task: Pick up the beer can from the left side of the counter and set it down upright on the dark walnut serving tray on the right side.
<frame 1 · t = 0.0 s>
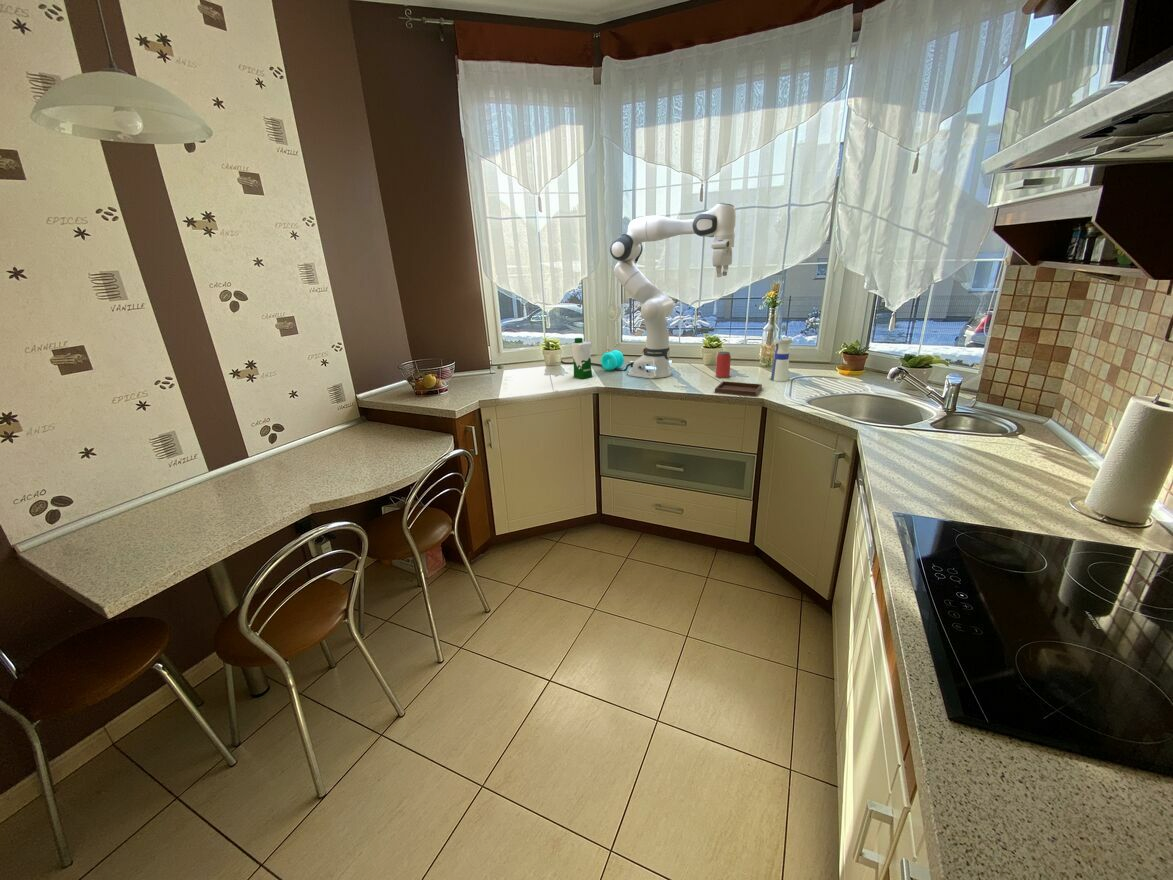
hand: (721, 276, 216), 48 cm above the worktop, tool pointing down, fingers open, 8 cm apart
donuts: (612, 369, 264), on the worktop
beer can: (722, 376, 238), on the worktop
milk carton: (583, 377, 251), on the worktop
water bottle: (778, 379, 229), on the worktop
tray: (738, 390, 214), on the worktop
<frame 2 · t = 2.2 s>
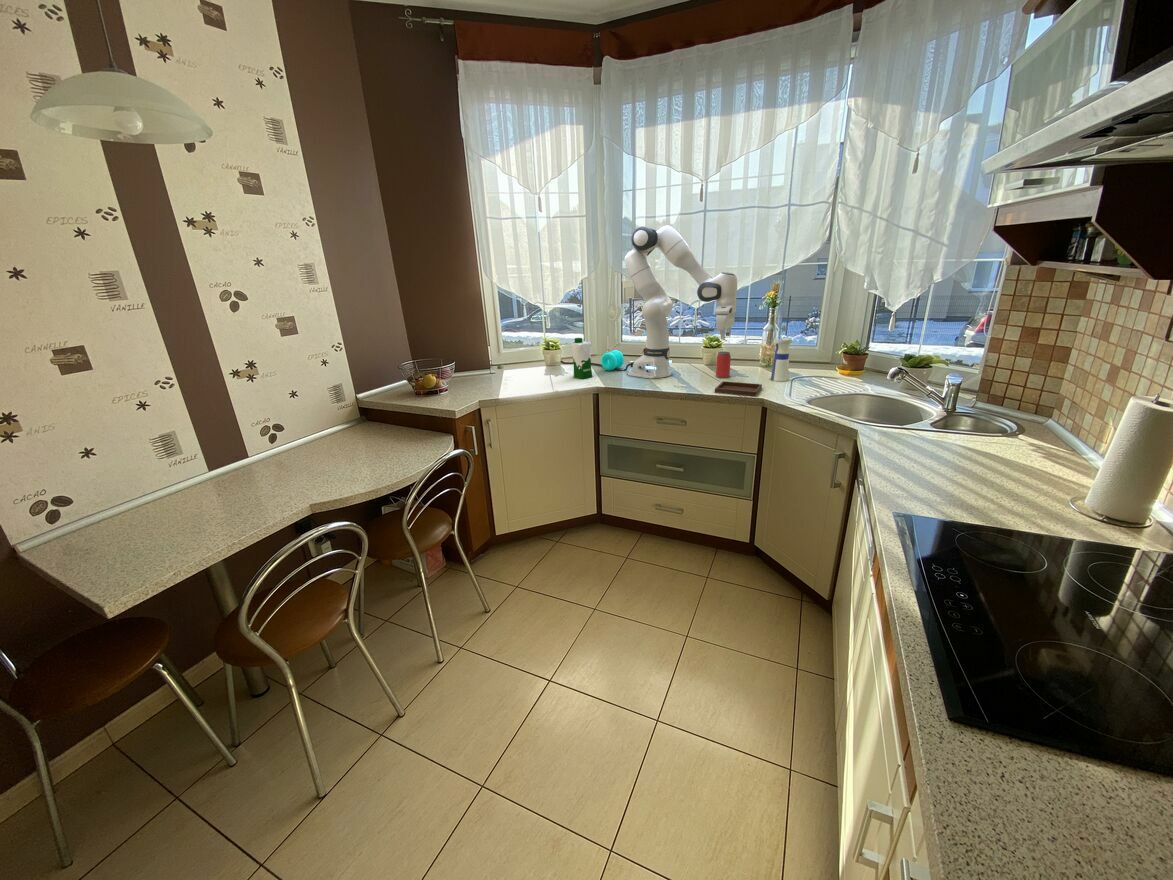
hand: (725, 337, 231), 19 cm above the worktop, tool pointing down, fingers open, 8 cm apart
nothing on the worktop moved.
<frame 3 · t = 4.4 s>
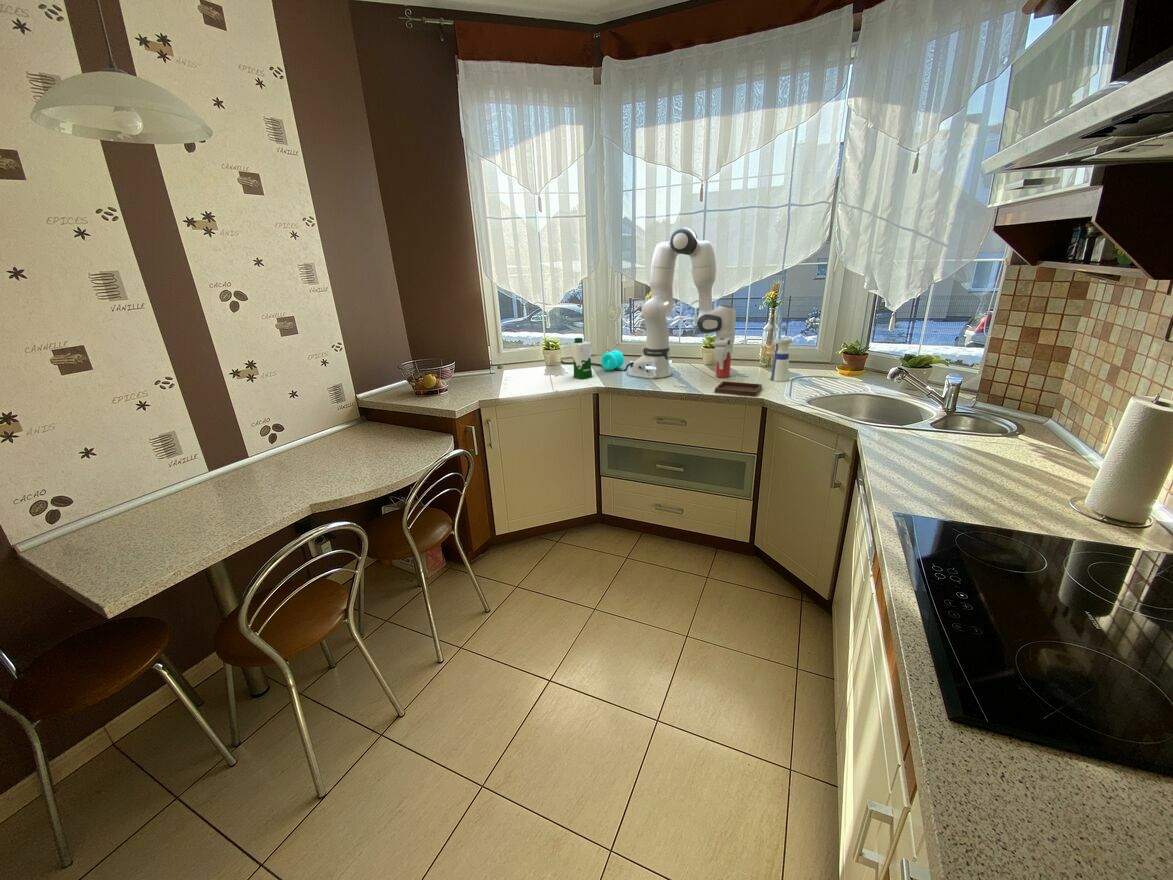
hand: (723, 367, 237), 5 cm above the worktop, tool pointing down, fingers closed on beer can, 6 cm apart
beer can: (722, 376, 238), on the worktop, touching gripper
everything else where it was.
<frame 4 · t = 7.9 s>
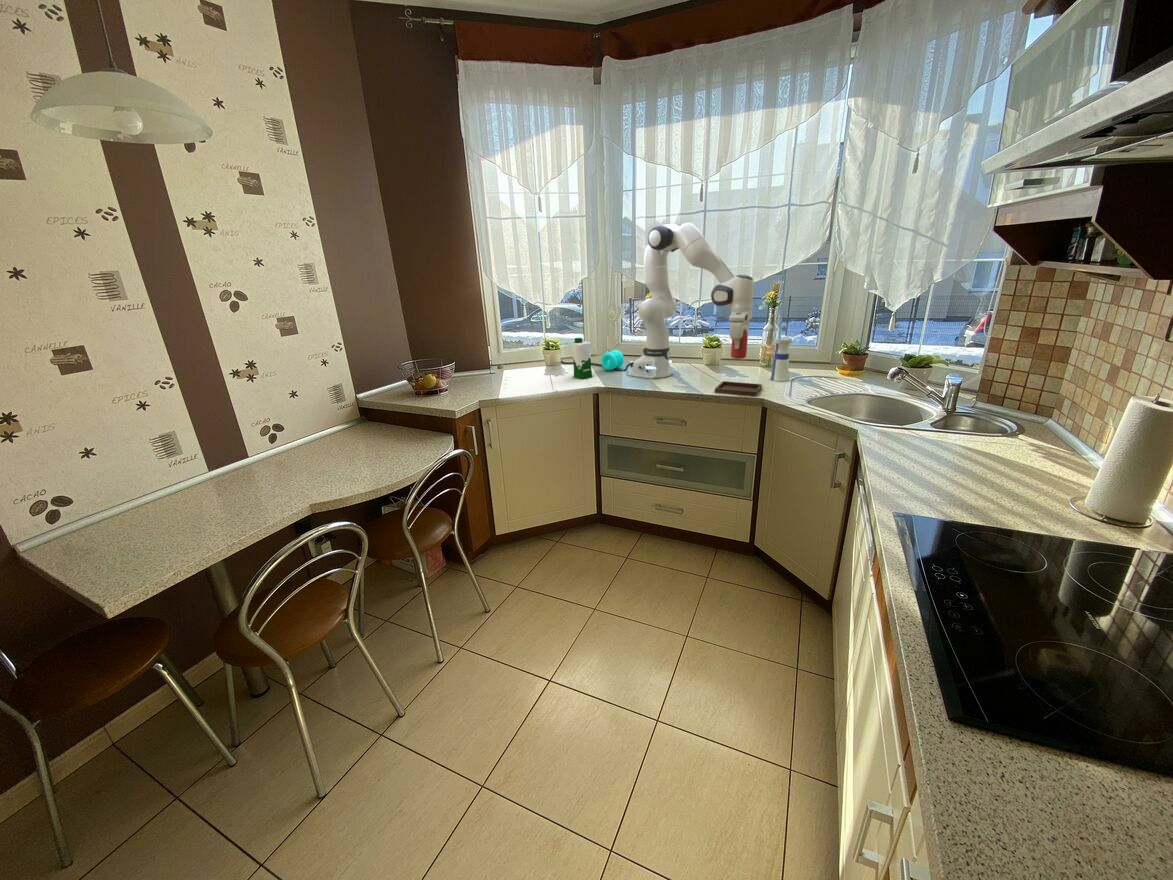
hand: (739, 346, 210), 19 cm above the worktop, tool pointing down, fingers closed on beer can, 6 cm apart
beer can: (738, 357, 212), point 14 cm above the worktop, touching gripper
everything else where it was.
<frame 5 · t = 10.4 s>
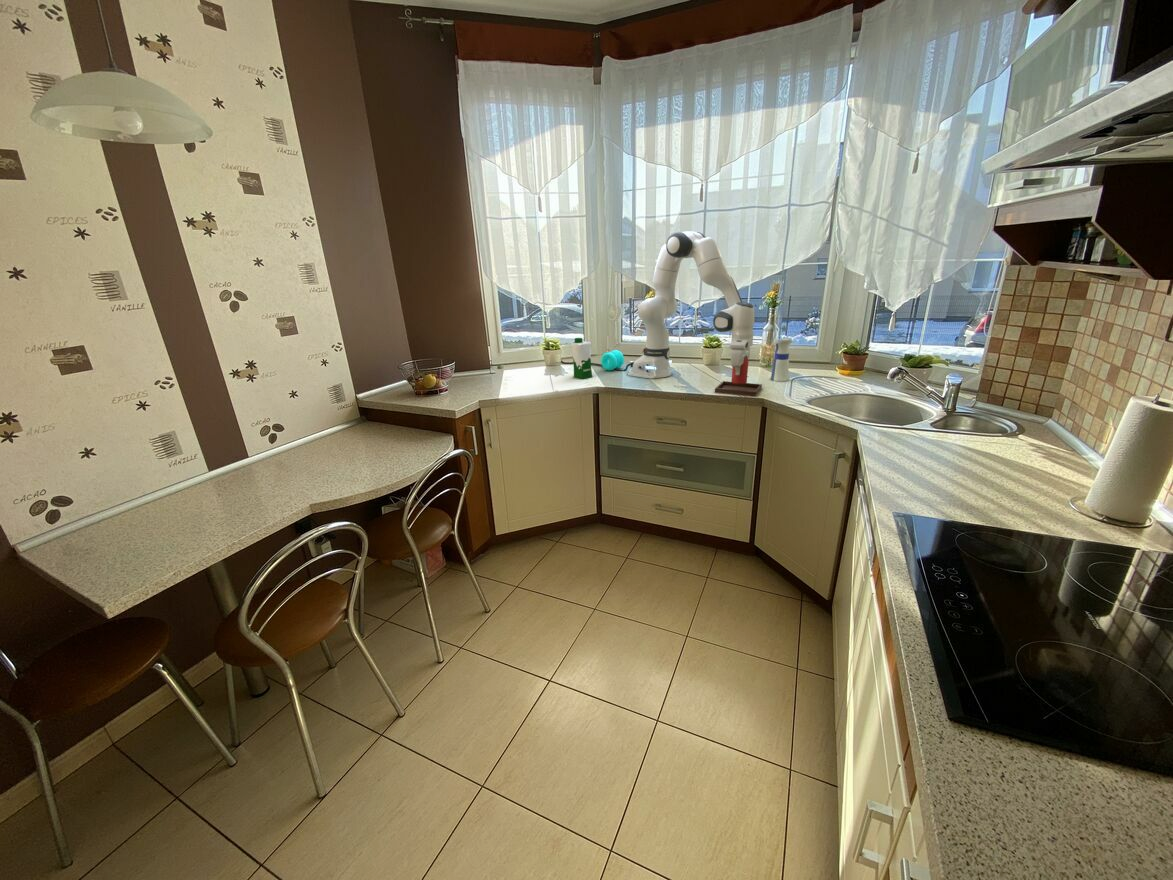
hand: (739, 372, 211), 8 cm above the worktop, tool pointing down, fingers closed on beer can, 6 cm apart
beer can: (739, 383, 213), point 3 cm above the worktop, touching gripper
everything else where it was.
when the fingers open (5 cm above the worktop, at t = 11.9 s): beer can stays where it is, resting on tray.
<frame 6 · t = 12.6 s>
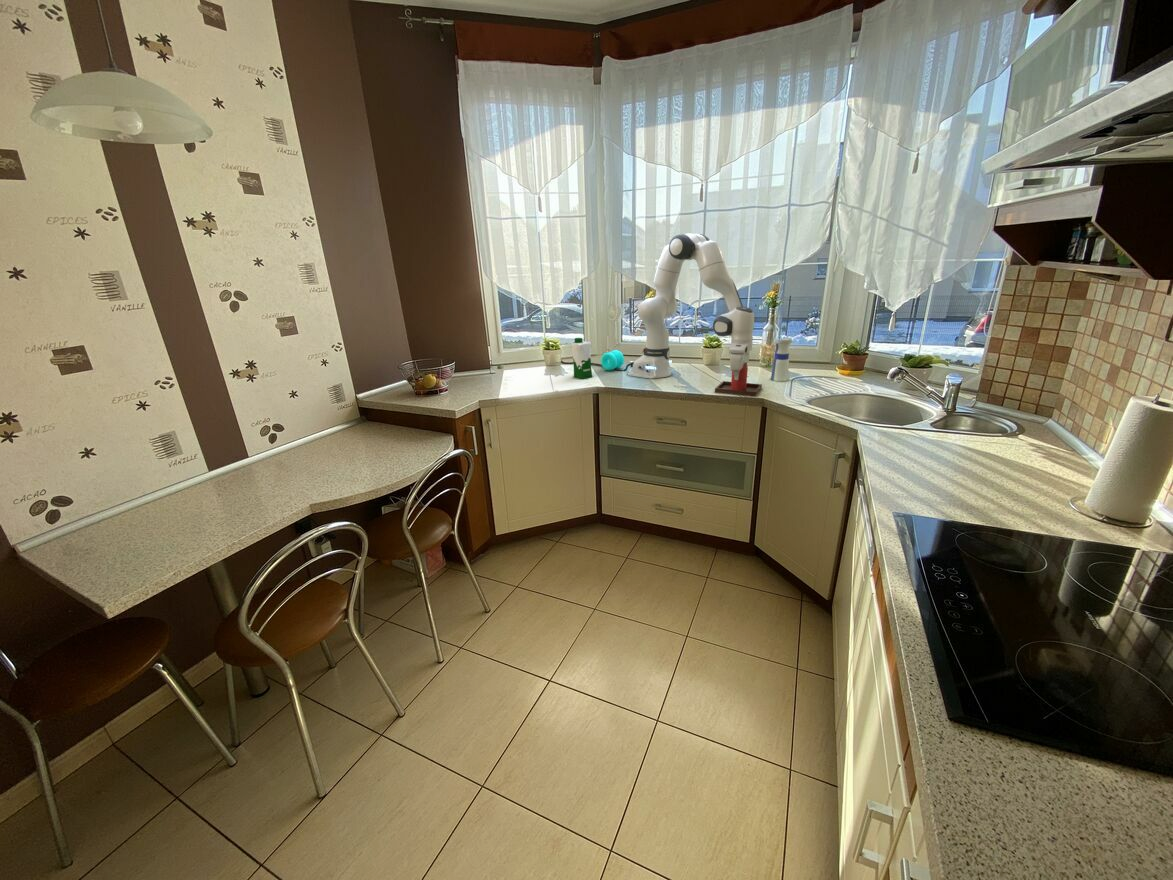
hand: (739, 377, 212), 6 cm above the worktop, tool pointing down, fingers open, 8 cm apart
beer can: (738, 389, 214), resting on tray
everything else where it was.
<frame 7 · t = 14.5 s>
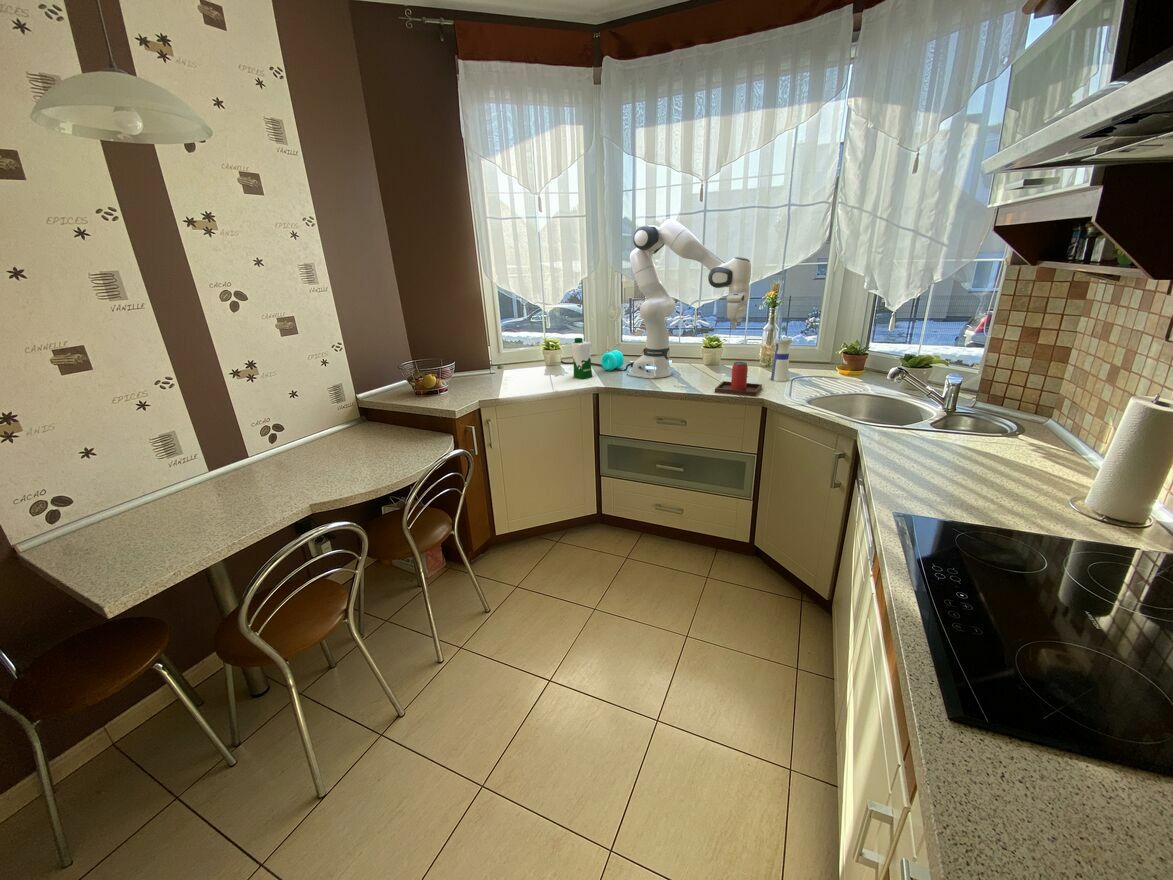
hand: (736, 327, 219), 26 cm above the worktop, tool pointing down, fingers open, 8 cm apart
nothing on the worktop moved.
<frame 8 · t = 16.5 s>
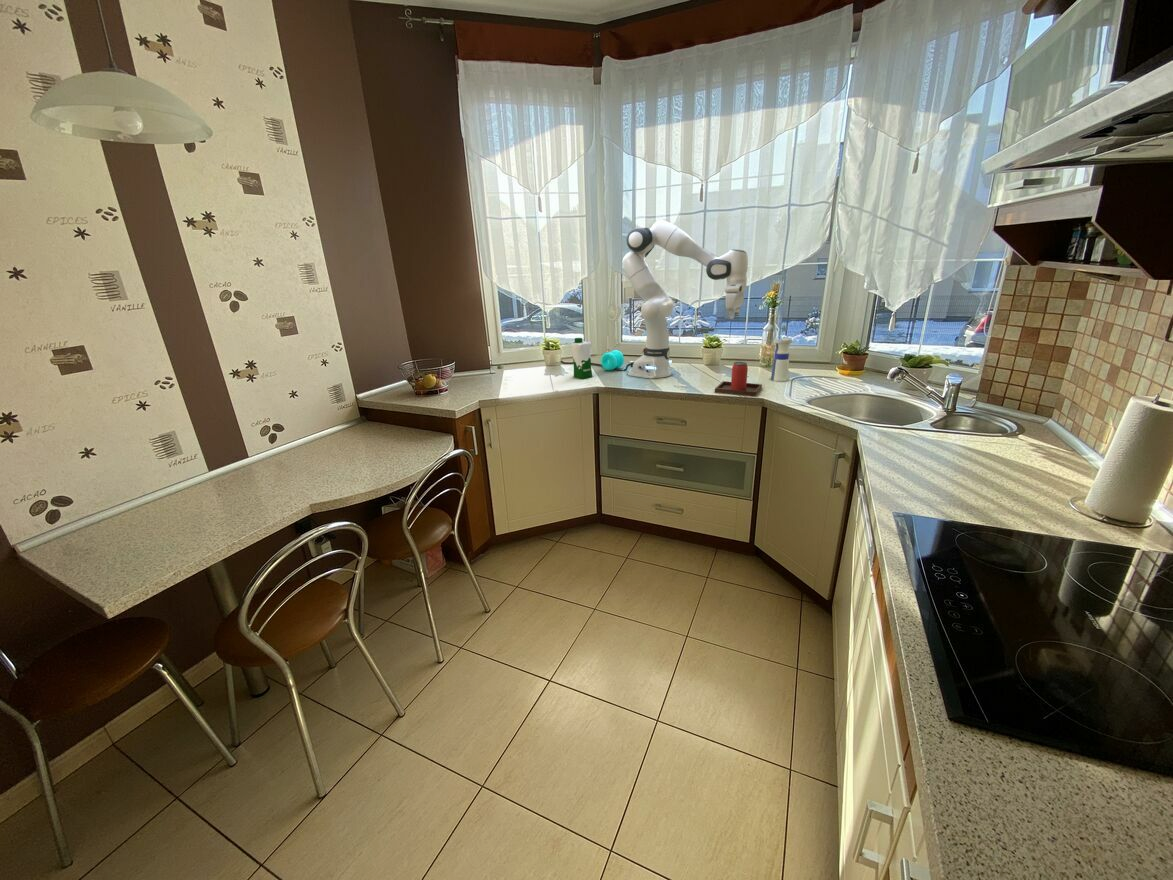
hand: (734, 317, 225), 29 cm above the worktop, tool pointing down, fingers open, 8 cm apart
nothing on the worktop moved.
at the end: beer can inside the target area in the tray (0.1 cm from its centre), point 0.3 cm above the tray's base; beer can tilted 0°; the gripper is holding nothing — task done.
